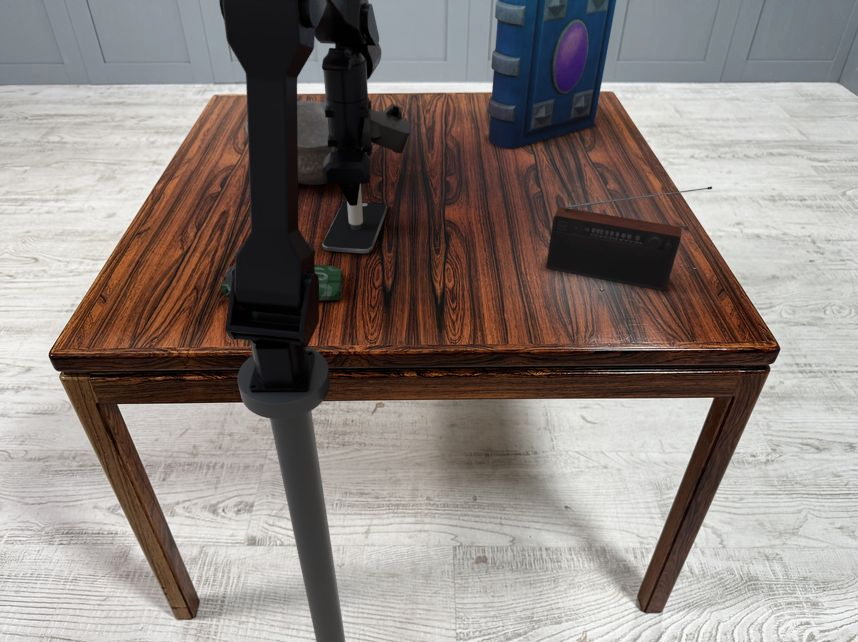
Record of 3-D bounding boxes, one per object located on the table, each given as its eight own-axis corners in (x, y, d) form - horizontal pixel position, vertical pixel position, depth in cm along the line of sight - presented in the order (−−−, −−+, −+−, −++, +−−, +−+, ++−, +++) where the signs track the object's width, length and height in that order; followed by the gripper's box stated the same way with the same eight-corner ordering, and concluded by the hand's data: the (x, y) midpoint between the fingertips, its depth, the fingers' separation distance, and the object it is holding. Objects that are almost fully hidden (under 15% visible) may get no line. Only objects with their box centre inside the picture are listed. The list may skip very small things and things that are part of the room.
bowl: (281, 214, 106) (273, 155, 100) (236, 168, 119) (226, 113, 113) (391, 183, 115) (389, 127, 108) (337, 143, 128) (333, 91, 121)
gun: (345, 254, 94) (339, 294, 86) (346, 263, 95) (340, 303, 87) (232, 255, 94) (216, 295, 86) (234, 263, 95) (219, 304, 87)
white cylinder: (363, 231, 100) (359, 176, 95) (348, 231, 100) (344, 176, 95) (363, 224, 102) (360, 169, 96) (349, 224, 102) (345, 169, 96)
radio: (545, 269, 94) (559, 171, 84) (549, 259, 96) (564, 162, 86) (680, 296, 89) (712, 194, 79) (681, 284, 91) (712, 184, 81)
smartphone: (388, 203, 107) (371, 250, 96) (388, 207, 108) (371, 254, 96) (342, 200, 108) (319, 246, 97) (343, 204, 109) (320, 250, 97)
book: (507, 154, 124) (525, -26, 105) (479, 139, 130) (491, -36, 110) (598, 128, 134) (630, -41, 115) (569, 115, 140) (594, -49, 120)
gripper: (406, 121, 81) (407, 232, 91) (406, 73, 96) (407, 174, 106) (316, 122, 81) (327, 232, 91) (330, 74, 95) (338, 174, 105)
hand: (353, 201), depth 98 cm, fingers closed on white cylinder, 2 cm apart
